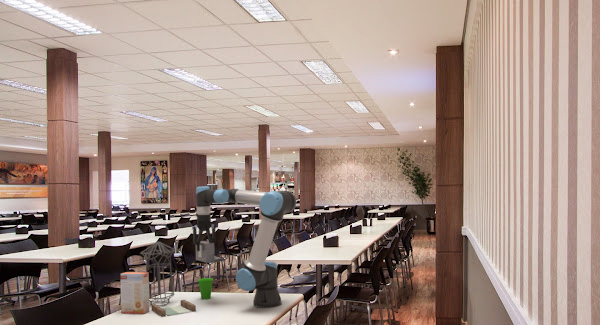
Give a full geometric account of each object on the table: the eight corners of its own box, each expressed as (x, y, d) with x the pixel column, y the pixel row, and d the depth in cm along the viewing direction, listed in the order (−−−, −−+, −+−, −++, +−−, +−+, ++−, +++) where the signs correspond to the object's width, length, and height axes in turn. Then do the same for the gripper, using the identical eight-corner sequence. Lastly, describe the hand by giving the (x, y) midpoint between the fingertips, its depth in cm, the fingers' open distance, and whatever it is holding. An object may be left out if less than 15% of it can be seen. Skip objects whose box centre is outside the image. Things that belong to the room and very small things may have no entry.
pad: (190, 312, 266) (190, 311, 266) (167, 315, 260) (167, 315, 260) (178, 306, 282) (178, 305, 282) (157, 309, 275) (157, 308, 275)
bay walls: (195, 311, 268) (195, 305, 268) (161, 316, 258) (161, 310, 259) (184, 305, 283) (184, 299, 283) (151, 310, 274) (151, 304, 274)
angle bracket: (196, 259, 289) (195, 241, 289) (212, 257, 294) (212, 240, 295) (206, 262, 275) (205, 243, 276) (223, 260, 280) (222, 242, 281)
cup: (210, 300, 293) (209, 280, 294) (195, 300, 295) (195, 281, 296) (216, 296, 302) (215, 278, 303) (201, 296, 304) (201, 278, 304)
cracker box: (150, 311, 271) (149, 271, 272) (143, 314, 266) (142, 273, 267) (128, 310, 276) (127, 271, 277) (120, 313, 270) (119, 273, 271)
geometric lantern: (165, 307, 278) (163, 243, 280) (139, 307, 283) (138, 243, 284) (179, 301, 294) (177, 240, 295) (154, 300, 298) (153, 240, 299)
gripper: (190, 215, 277) (191, 258, 276) (221, 213, 286) (222, 255, 285) (185, 215, 283) (187, 257, 282) (216, 213, 293) (217, 254, 291)
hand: (205, 256), depth 284 cm, fingers closed on angle bracket, 5 cm apart
